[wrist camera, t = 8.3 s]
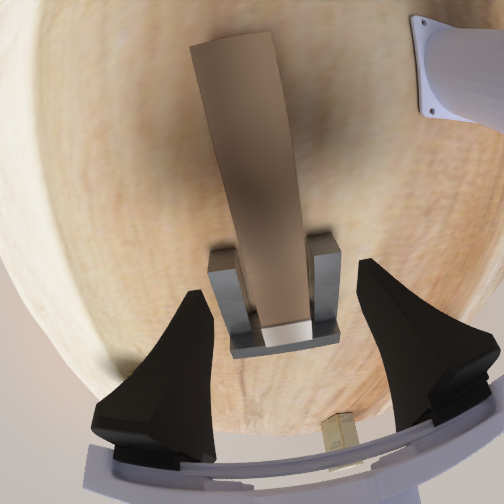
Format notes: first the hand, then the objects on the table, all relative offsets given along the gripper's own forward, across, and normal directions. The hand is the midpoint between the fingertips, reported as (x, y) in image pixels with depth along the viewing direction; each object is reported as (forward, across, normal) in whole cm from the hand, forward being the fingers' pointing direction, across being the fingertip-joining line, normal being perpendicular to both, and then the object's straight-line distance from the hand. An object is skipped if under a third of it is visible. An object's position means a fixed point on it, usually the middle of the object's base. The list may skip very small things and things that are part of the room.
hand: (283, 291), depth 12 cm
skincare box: (+9, -7, +49) cm, 51 cm away
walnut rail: (+9, 0, -1) cm, 9 cm away
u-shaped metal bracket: (+8, 0, +8) cm, 11 cm away
